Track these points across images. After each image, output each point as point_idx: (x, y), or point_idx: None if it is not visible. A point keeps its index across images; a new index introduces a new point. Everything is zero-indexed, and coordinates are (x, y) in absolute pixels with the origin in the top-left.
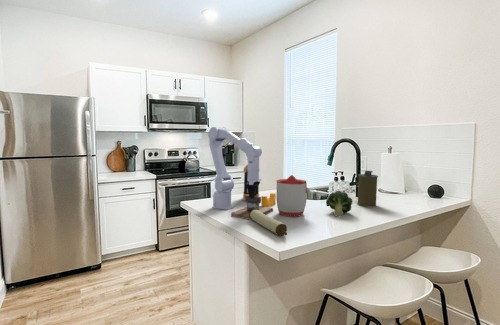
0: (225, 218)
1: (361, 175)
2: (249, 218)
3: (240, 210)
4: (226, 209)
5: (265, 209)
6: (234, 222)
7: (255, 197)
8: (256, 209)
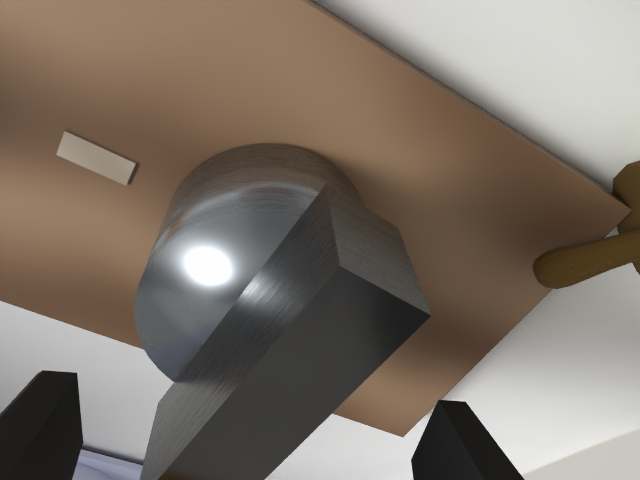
0: None
1: None
2: None
3: None
4: None
5: (173, 17)
6: (631, 368)
7: (362, 377)
8: (360, 204)
